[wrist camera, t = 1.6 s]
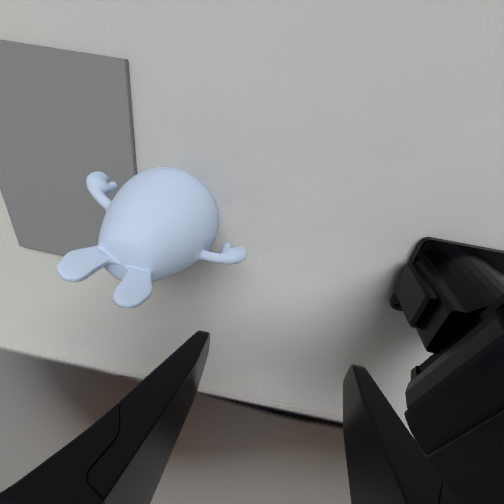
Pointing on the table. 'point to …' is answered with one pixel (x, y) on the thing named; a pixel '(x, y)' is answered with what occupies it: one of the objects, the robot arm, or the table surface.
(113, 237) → the toy figure
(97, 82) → the mat
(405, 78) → the table surface
